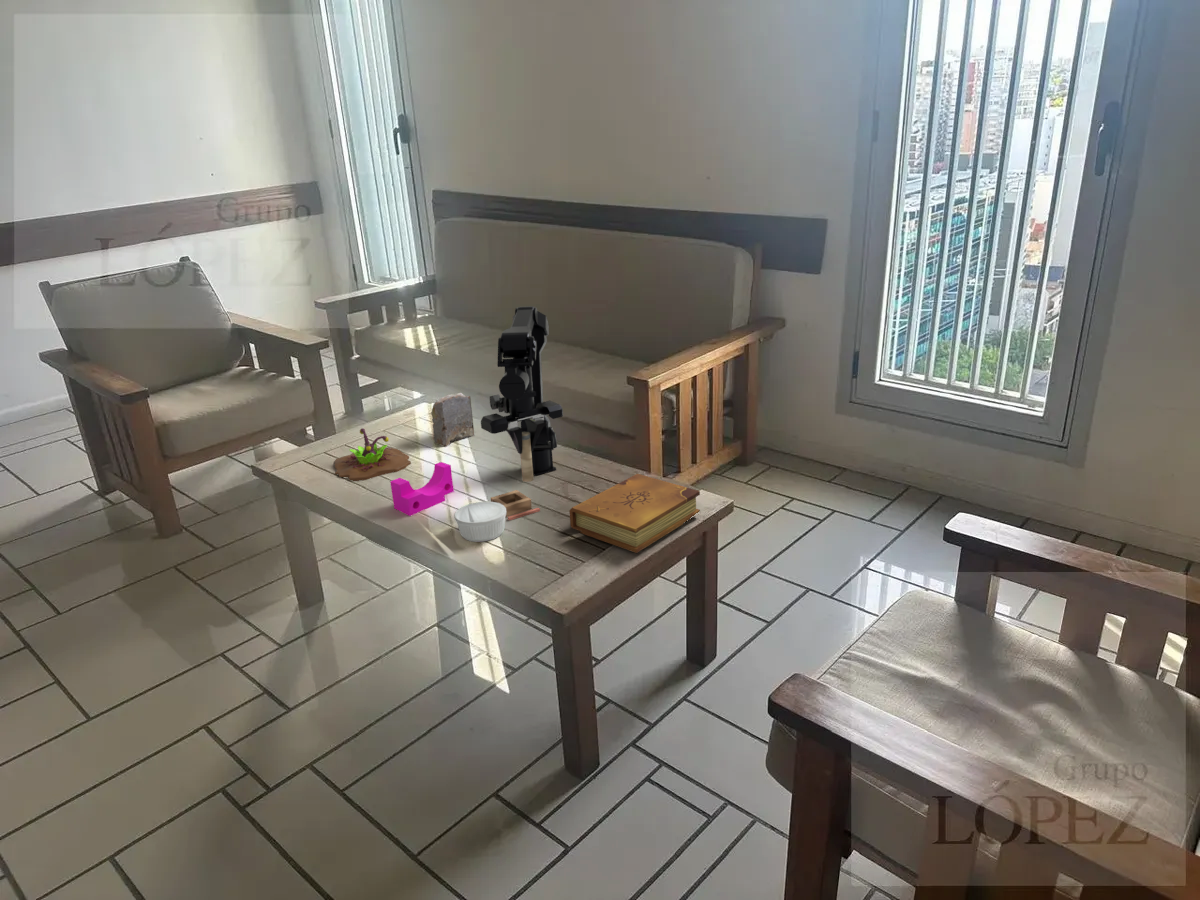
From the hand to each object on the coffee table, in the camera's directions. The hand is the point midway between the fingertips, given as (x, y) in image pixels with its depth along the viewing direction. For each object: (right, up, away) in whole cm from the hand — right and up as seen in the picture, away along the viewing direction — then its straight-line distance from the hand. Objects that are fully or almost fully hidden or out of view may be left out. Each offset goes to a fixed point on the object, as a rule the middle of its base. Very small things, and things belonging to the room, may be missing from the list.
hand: (525, 451), depth 196 cm
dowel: (0, -7, +2) cm, 7 cm away
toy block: (-24, -13, +9) cm, 29 cm away
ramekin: (-9, -18, -9) cm, 22 cm away
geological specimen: (-24, +2, +46) cm, 52 cm away
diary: (+25, -16, -6) cm, 31 cm away
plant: (-44, -5, +32) cm, 54 cm away
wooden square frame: (-2, -13, +2) cm, 14 cm away
